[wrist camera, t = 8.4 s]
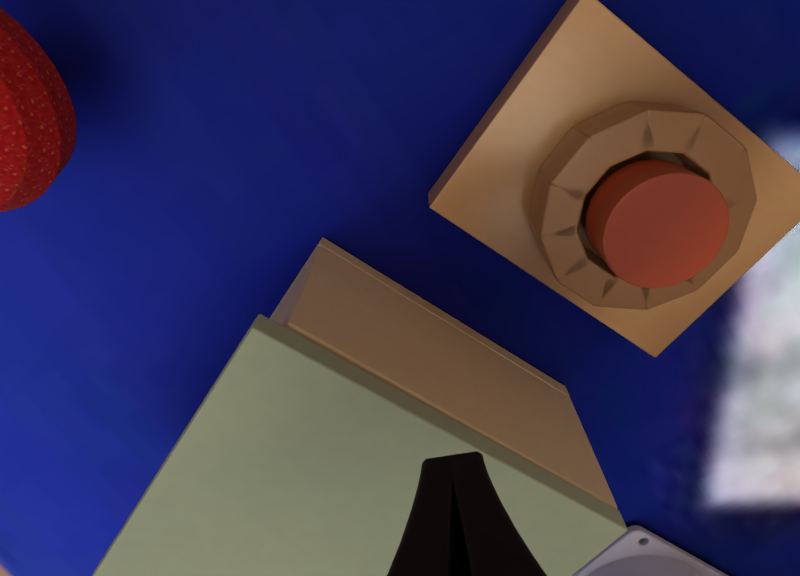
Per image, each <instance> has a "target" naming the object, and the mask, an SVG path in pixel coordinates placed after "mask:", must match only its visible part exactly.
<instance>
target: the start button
mask: <svg viewBox="0 0 800 576" xmlns="http://www.w3.org/2000/svg"><path fill="white" fill-rule="evenodd" d="M728 225H729V212H728V207H727V204H726V200H725V198H724V197H723V195H722V193H721V192H720V190H719V189H718V188H717V187H716V186H715V185H714V184H713V183H712V182H710V181H709V180H707V179H706V178H704V177H702V176H700V175H698V174H696V173H694V172H692V171H690V170H688V169H686V168H684V167H682V166H680V165H678V164H676V163H674V162H671V161H668V160H662V159H646V160H641V161H637V162H633V163H631V164H628V165H626V166H624V167H622V168H620V169H619V170H617V171H616V172H614V173H613V174H611V175H610V176H609V177H608V178H607V179H606V180H605V181H604V182H603V183H602V184H601V185H600V186H599V188H598V189H597V190H596V192H595V194H594V195H593V197H592V199H591V201H590V204H589V207H588V210H587V215H586V231H587V235H588V238H589V241H590V243H591V245H592V246H593V248H594V249H595V251H596V252H597V253H598V254H599V255H600V257H601V258H602V259H603V260H604V261H605V263H606V264H607V265H608V266H609V268H610V269H611V270H612V271H613V272H614V273H615V274H616V275H617V276H618V277H619V278H620V279H622V280H624V281H625V282H627V283H629V284H632V285H634V286H638V287H643V288H664V287H669V286H673V285H676V284H679V283H681V282H684V281H686V280H688V279H690V278H691V277H693V276H695V275H696V274H698V273H699V272H700V271H702V270H703V269H704V268H705V267H706V266H707V265H708V264H709V263H710V262H711V261H712V260H713V259H714V258H715V256H716V255H717V253H718V252H719V250H720V249H721V247H722V245H723V243H724V240H725V238H726V235H727V231H728Z"/></svg>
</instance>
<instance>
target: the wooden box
mask: <svg viewBox="0 0 800 576" xmlns="http://www.w3.org/2000/svg"><path fill="white" fill-rule="evenodd" d="M269 319H271V320H272V321H274V322H276V323H278V324H280V325H282V326H283V327H285V328H287V329H289V330H291V331H292V332H294V333H296V334H298V335H300V336H302V337H303V338H305V339H307V340H309V341H311V342H313V343H314V344H316V345H318V346H320V347H322V348H323V349H325V350H327V351H329V352H331V353H333V354H334V355H336V356H338V357H340V358H342V359H344V360H345V361H347V362H349V363H351V364H353V365H354V366H356V367H358V368H360V369H362V370H364V371H365V372H367V373H369V374H371V375H373V376H375V377H376V378H378V379H380V380H382V381H384V382H385V383H387V384H389V385H391V386H393V387H395V388H396V389H398V390H400V391H402V392H404V393H406V394H407V395H409V396H411V397H413V398H415V399H416V400H418V401H420V402H422V403H424V404H426V405H427V406H429V407H431V408H433V409H435V410H437V411H438V412H440V413H442V414H444V415H446V416H447V417H449V418H451V419H453V420H455V421H457V422H458V423H460V424H462V425H464V426H466V427H468V428H469V429H471V430H473V431H475V432H477V433H478V434H480V435H482V436H484V437H486V438H488V439H489V440H491V441H493V442H495V443H497V444H499V445H500V446H502V447H504V448H506V449H508V450H509V451H511V452H513V453H515V454H517V455H519V456H520V457H522V458H524V459H526V460H528V461H530V462H531V463H533V464H535V465H537V466H539V467H540V468H542V469H544V470H546V471H548V472H550V473H551V474H553V475H555V476H557V477H559V478H561V479H562V480H564V481H566V482H568V483H570V484H571V485H573V486H575V487H577V488H579V489H581V490H582V491H584V492H586V493H588V494H590V495H592V496H593V497H595V498H597V499H599V500H601V501H602V502H604V503H606V504H608V505H610V506H612V507H613V508H615V509H617V505H616V503H615V500H614V498H613V496H612V493H611V491H610V489H609V487H608V484H607V482H606V480H605V477H604V475H603V473H602V470H601V468H600V466H599V463H598V461H597V459H596V457H595V454H594V452H593V450H592V447H591V445H590V443H589V440H588V438H587V436H586V433H585V431H584V429H583V427H582V424H581V422H580V420H579V417H578V415H577V413H576V410H575V408H574V406H573V403H572V401H571V399H570V396H569V394H568V391H567V389H566V387H565V386H564V385H562V384H560V383H559V382H557V381H556V380H554V379H552V378H551V377H549V376H547V375H546V374H544V373H543V372H541V371H539V370H538V369H536V368H535V367H533V366H531V365H530V364H528V363H526V362H525V361H523V360H522V359H520V358H518V357H517V356H515V355H513V354H512V353H510V352H509V351H507V350H505V349H504V348H502V347H500V346H499V345H497V344H496V343H494V342H492V341H491V340H489V339H487V338H486V337H484V336H483V335H481V334H479V333H478V332H476V331H474V330H473V329H471V328H470V327H468V326H466V325H465V324H463V323H461V322H460V321H458V320H457V319H455V318H453V317H452V316H450V315H448V314H447V313H445V312H444V311H442V310H440V309H439V308H437V307H435V306H434V305H432V304H431V303H429V302H427V301H426V300H424V299H422V298H421V297H419V296H418V295H416V294H414V293H413V292H411V291H409V290H408V289H406V288H405V287H403V286H401V285H400V284H398V283H396V282H395V281H393V280H392V279H390V278H388V277H387V276H385V275H383V274H382V273H380V272H379V271H377V270H375V269H374V268H372V267H370V266H369V265H367V264H366V263H364V262H362V261H361V260H359V259H357V258H356V257H354V256H353V255H351V254H349V253H348V252H346V251H344V250H343V249H341V248H340V247H338V246H336V245H335V244H333V243H331V242H330V241H328V240H327V239H325V238H321V240H320V241H319V243H318V245H317V246H316V248H315V249H314V251H313V252H312V254H311V255H310V257H309V258H308V260H307V261H306V263H305V265H304V266H303V268H302V269H301V271H300V272H299V274H298V275H297V277H296V278H295V280H294V281H293V283H292V284H291V286H290V288H289V289H288V291H287V292H286V294H285V295H284V297H283V298H282V300H281V301H280V303H279V304H278V306H277V307H276V309H275V311H274V312H273V314H272V315H271V317H270V318H269Z"/></svg>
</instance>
